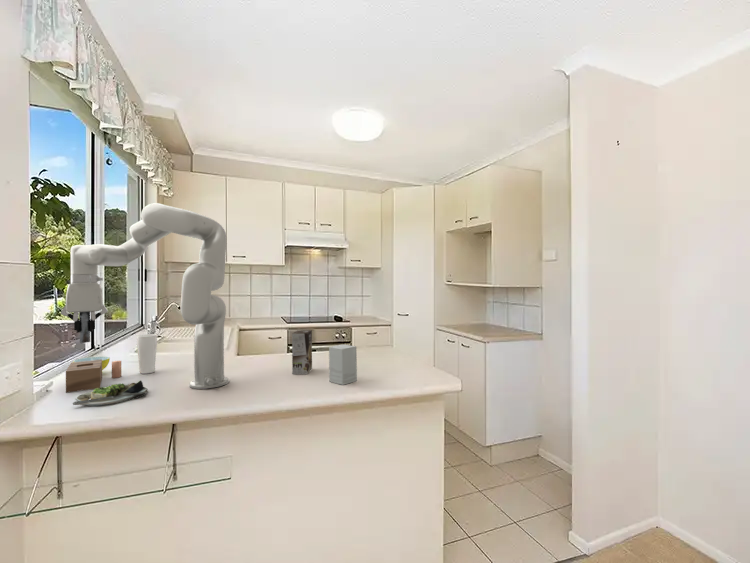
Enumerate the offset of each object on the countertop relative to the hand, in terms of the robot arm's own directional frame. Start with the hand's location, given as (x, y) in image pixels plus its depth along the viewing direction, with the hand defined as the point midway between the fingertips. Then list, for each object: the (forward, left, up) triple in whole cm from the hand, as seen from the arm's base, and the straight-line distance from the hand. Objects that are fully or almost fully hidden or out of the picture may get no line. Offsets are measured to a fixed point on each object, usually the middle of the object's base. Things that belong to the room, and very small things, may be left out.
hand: (84, 331), depth 128 cm
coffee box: (-29, -70, -19) cm, 78 cm away
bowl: (+16, -1, -19) cm, 25 cm away
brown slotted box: (0, 0, -19) cm, 19 cm away
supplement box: (-51, -76, -19) cm, 93 cm away
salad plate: (-23, -9, -20) cm, 31 cm away
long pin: (0, 0, -4) cm, 4 cm away
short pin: (+6, -9, -19) cm, 22 cm away
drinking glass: (+7, -19, -19) cm, 28 cm away
